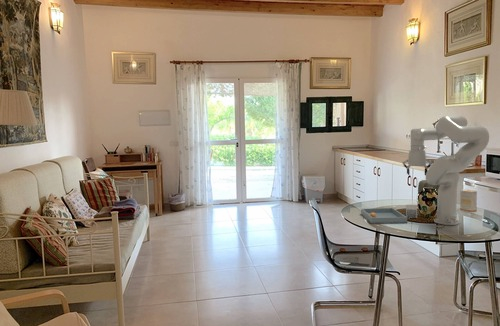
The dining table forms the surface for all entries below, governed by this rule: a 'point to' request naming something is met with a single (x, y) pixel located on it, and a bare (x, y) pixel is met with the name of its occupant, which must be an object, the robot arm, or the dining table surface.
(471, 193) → the supplement box
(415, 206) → the silver metal block
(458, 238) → the dining table surface
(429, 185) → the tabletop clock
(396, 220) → the tray
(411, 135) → the robot arm
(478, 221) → the dining table surface
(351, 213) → the dining table surface
